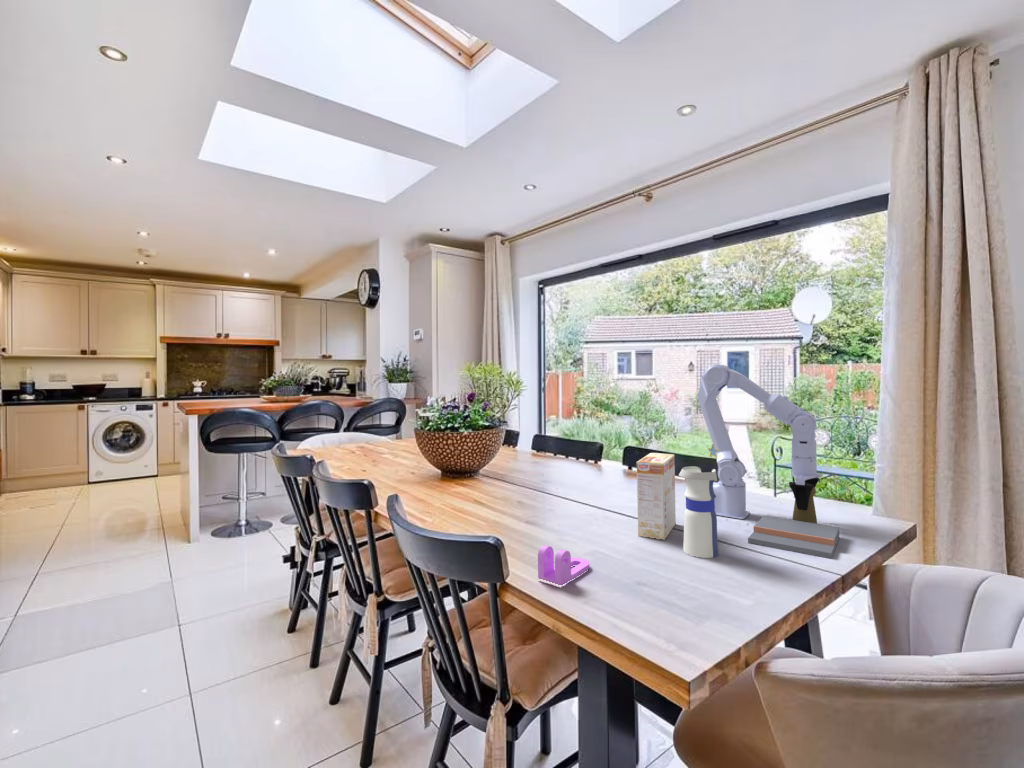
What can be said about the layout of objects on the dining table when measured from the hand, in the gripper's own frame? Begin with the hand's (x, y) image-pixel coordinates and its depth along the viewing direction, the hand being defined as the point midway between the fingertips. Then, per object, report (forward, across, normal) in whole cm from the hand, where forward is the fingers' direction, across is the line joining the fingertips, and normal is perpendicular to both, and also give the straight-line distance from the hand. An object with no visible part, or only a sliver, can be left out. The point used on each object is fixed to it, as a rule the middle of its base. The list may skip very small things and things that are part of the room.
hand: (804, 506), depth 130 cm
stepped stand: (+5, -16, 0) cm, 17 cm away
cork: (+5, 0, 0) cm, 5 cm away
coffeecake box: (+5, -28, +30) cm, 41 cm away
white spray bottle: (+5, -37, +16) cm, 41 cm away
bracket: (+5, -66, +34) cm, 75 cm away
